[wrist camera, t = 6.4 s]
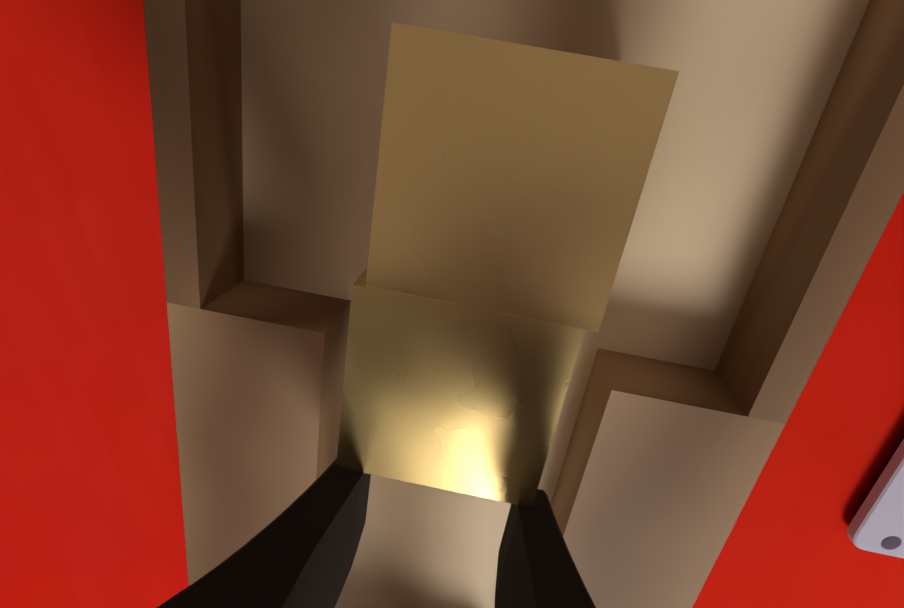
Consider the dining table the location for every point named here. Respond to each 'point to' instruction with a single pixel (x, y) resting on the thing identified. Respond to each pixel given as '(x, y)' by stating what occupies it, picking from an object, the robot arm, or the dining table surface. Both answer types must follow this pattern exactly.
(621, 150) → the golden brown cube
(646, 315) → the slot board
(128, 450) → the dining table surface
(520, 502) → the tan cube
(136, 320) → the dining table surface
